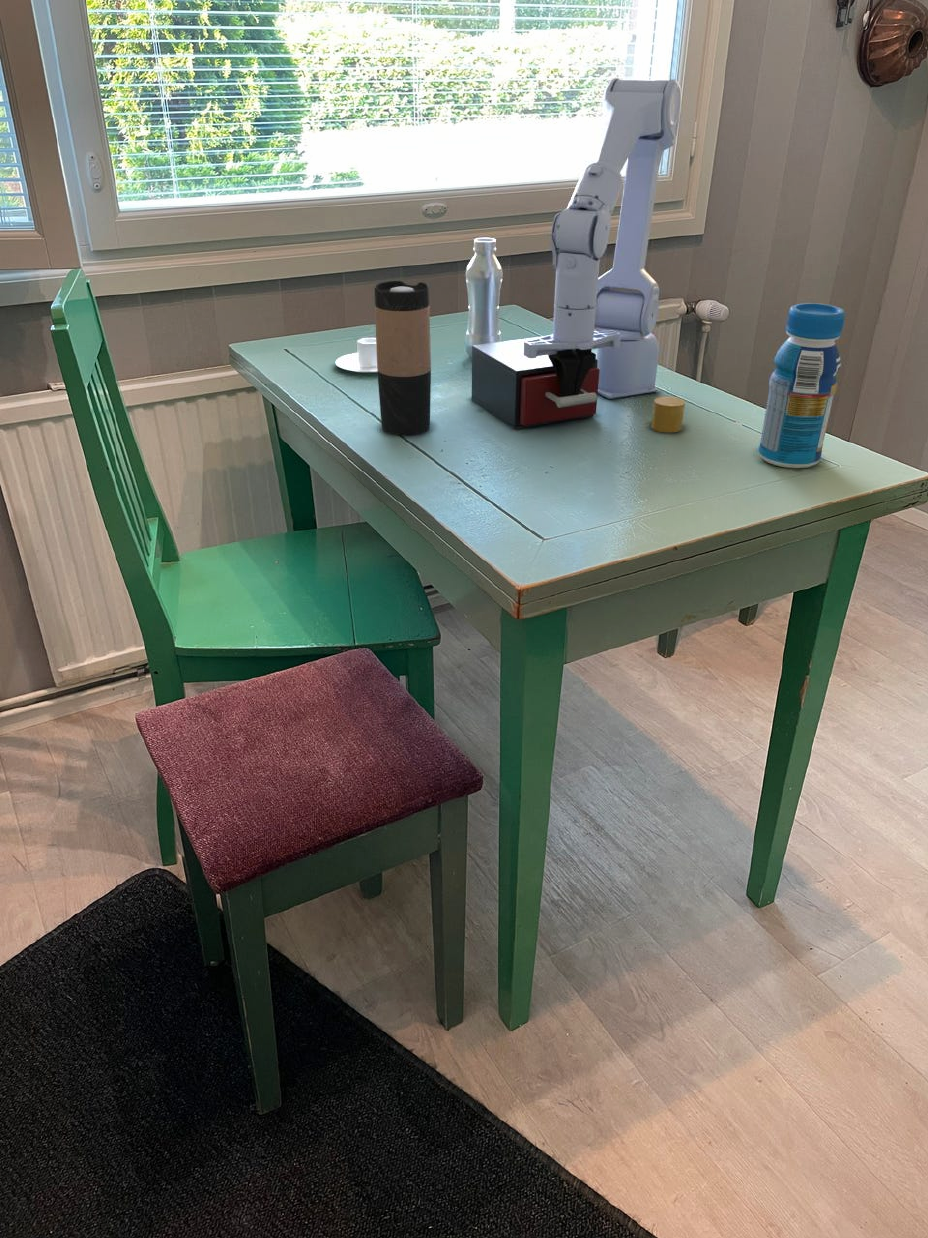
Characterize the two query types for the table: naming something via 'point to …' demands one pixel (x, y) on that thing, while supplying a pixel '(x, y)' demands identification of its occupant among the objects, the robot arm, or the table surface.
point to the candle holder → (361, 357)
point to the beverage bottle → (802, 387)
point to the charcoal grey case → (505, 378)
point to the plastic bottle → (483, 295)
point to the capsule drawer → (555, 398)
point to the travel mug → (403, 356)
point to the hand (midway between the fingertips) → (568, 401)
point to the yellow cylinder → (668, 414)
